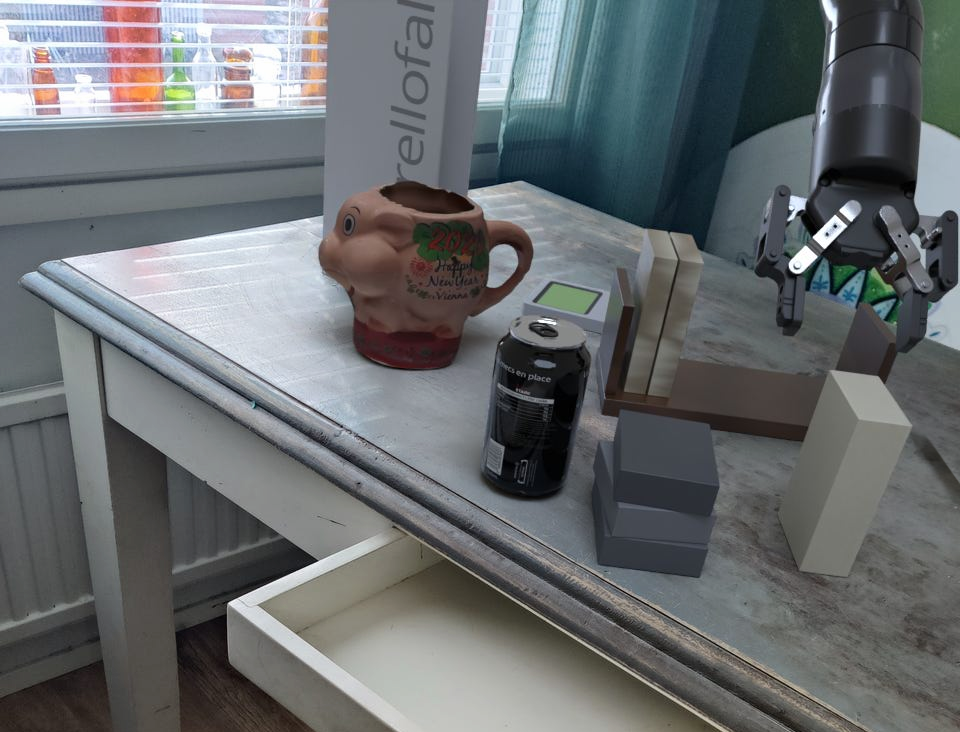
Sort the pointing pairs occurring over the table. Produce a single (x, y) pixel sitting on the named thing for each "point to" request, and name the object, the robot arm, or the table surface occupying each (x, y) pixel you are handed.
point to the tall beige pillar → (842, 472)
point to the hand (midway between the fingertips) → (849, 340)
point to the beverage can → (535, 404)
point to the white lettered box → (400, 95)
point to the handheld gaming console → (569, 303)
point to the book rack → (702, 385)
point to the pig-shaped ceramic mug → (417, 269)
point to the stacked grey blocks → (655, 494)
